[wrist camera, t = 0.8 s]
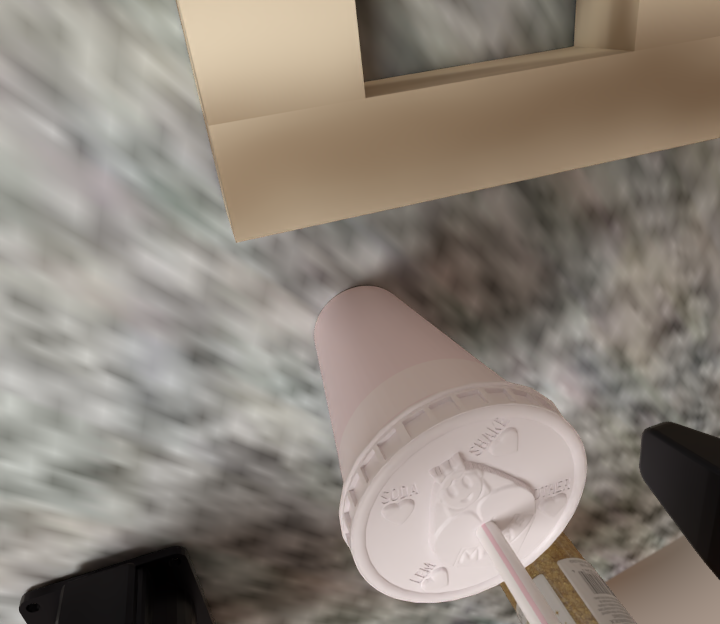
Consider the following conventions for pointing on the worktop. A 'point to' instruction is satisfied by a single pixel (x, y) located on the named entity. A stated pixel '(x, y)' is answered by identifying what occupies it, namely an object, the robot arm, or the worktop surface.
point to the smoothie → (440, 458)
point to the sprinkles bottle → (572, 588)
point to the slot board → (434, 106)
